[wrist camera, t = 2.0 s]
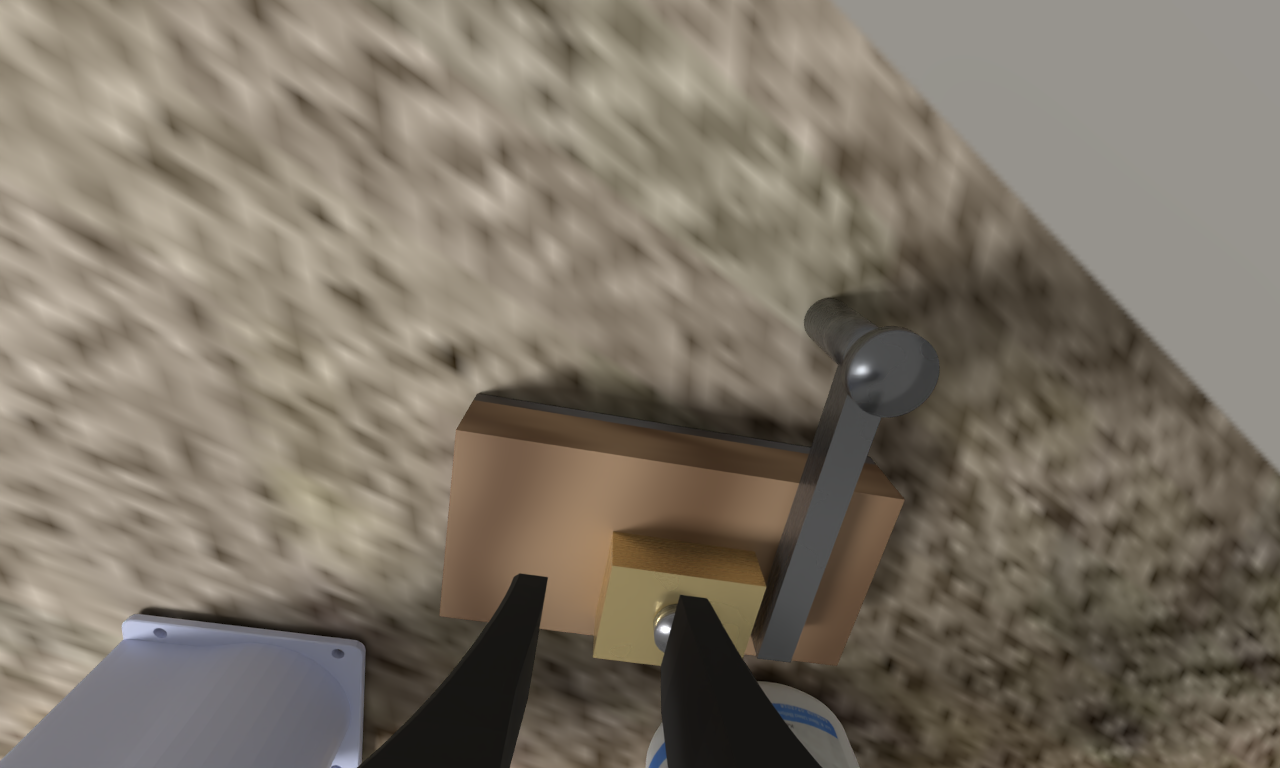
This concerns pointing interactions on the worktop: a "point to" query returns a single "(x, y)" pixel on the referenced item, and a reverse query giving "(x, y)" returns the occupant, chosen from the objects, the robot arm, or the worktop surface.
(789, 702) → the supplement tub
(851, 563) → the body
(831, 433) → the lever
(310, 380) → the worktop surface
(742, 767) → the robot arm
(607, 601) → the yellow rectangular block
